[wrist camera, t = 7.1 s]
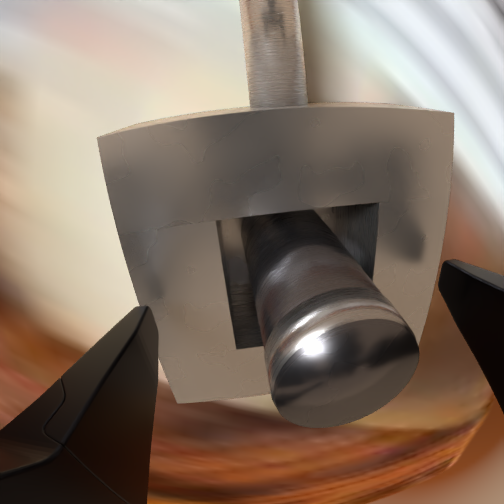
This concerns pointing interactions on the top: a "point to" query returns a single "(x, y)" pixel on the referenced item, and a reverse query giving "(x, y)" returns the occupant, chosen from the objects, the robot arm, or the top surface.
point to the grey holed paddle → (271, 204)
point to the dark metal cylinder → (323, 323)
